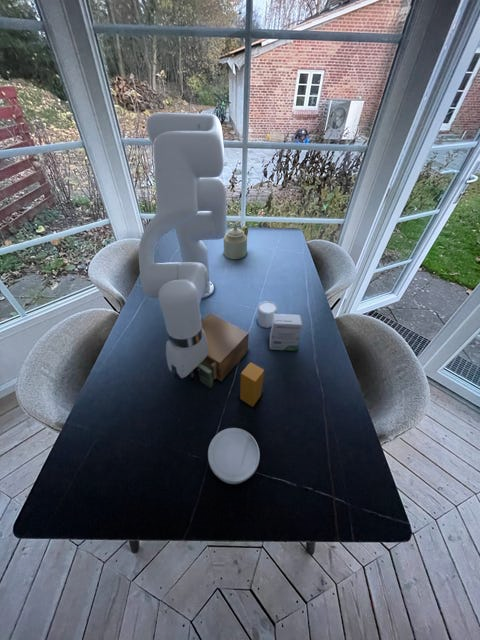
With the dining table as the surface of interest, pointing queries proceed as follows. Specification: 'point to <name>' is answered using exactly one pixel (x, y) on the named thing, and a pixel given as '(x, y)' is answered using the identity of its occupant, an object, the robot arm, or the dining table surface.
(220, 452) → the ramekin
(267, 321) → the white cylinder
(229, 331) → the cabinet
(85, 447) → the dining table surface
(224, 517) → the dining table surface
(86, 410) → the dining table surface
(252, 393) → the block
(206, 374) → the drawer
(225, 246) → the sugar bowl
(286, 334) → the ink box
